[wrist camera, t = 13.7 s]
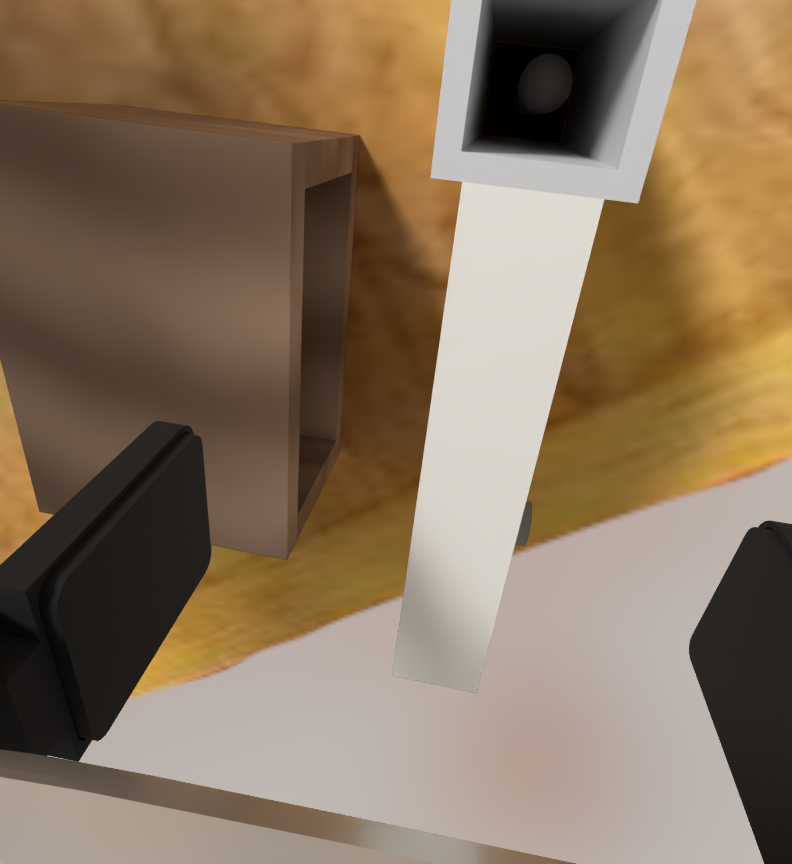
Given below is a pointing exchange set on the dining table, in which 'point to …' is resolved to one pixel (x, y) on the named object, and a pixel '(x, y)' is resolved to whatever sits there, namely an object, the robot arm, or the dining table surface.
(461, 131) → the door
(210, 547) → the robot arm
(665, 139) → the dining table surface
